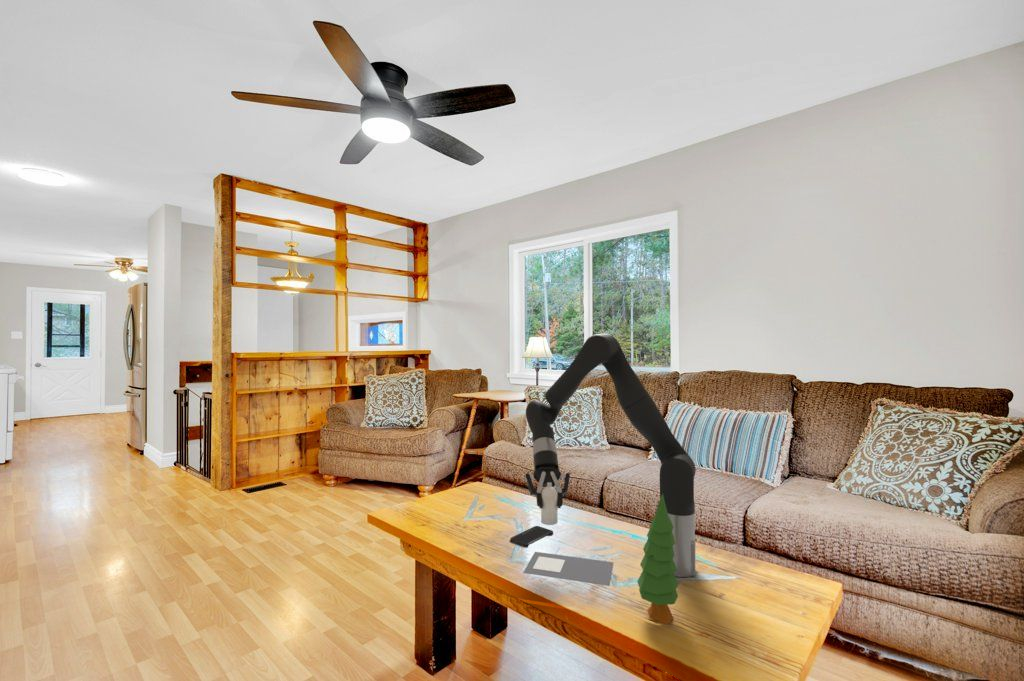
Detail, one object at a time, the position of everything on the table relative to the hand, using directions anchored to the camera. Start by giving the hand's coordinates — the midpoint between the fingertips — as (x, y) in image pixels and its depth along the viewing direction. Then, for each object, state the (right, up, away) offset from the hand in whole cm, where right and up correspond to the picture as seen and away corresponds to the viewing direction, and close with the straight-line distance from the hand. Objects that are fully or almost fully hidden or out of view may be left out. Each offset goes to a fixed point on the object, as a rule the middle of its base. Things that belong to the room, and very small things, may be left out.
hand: (550, 506), depth 137 cm
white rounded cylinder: (0, -5, +2) cm, 5 cm away
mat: (+5, -18, 0) cm, 19 cm away
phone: (-4, -19, +23) cm, 30 cm away
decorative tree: (+24, -18, -23) cm, 38 cm away
